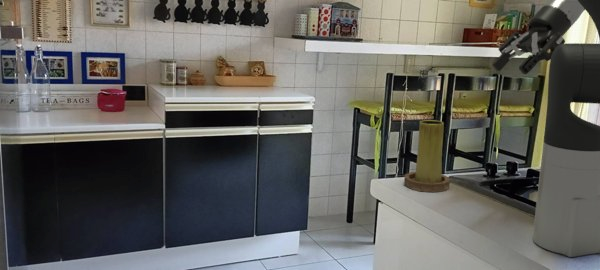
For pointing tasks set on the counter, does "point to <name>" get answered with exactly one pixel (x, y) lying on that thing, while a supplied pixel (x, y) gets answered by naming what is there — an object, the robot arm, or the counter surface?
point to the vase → (429, 152)
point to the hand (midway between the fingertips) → (508, 69)
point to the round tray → (426, 184)
